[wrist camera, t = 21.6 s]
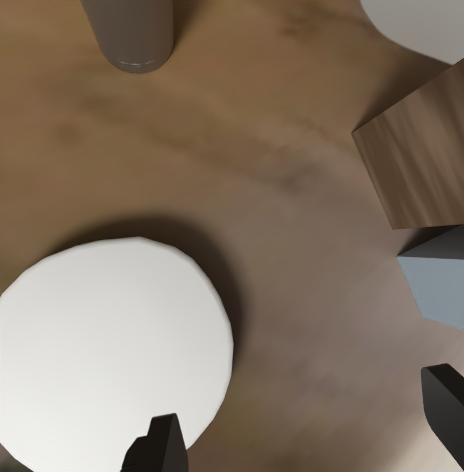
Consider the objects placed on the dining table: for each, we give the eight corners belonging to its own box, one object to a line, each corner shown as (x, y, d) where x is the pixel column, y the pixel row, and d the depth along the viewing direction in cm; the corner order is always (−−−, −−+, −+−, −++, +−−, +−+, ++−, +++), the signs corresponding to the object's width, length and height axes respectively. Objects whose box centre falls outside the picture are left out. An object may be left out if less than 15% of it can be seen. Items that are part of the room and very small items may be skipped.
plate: (72, 550, 37) (-93, 350, 36) (93, 502, 44) (-46, 331, 42) (286, 387, 38) (131, 183, 36) (276, 363, 44) (144, 190, 43)
